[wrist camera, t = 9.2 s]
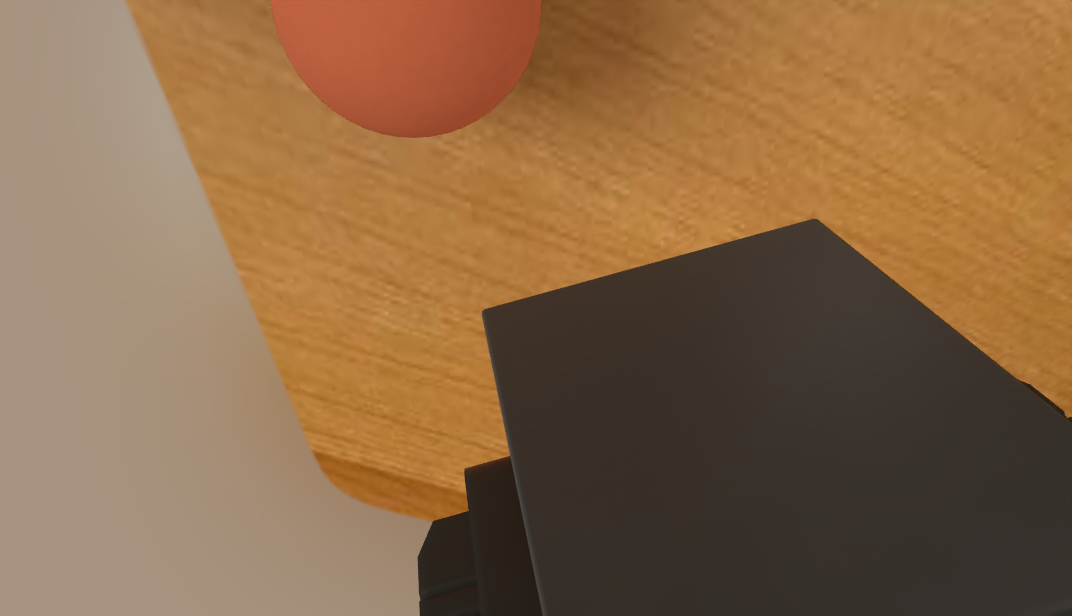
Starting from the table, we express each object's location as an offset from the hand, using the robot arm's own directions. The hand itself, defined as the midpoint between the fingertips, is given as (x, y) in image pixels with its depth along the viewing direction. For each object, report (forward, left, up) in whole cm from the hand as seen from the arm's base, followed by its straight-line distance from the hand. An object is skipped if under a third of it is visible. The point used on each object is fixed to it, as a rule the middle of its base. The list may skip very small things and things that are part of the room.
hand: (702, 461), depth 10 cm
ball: (-2, +4, -27) cm, 28 cm away
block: (0, 0, -1) cm, 1 cm away
